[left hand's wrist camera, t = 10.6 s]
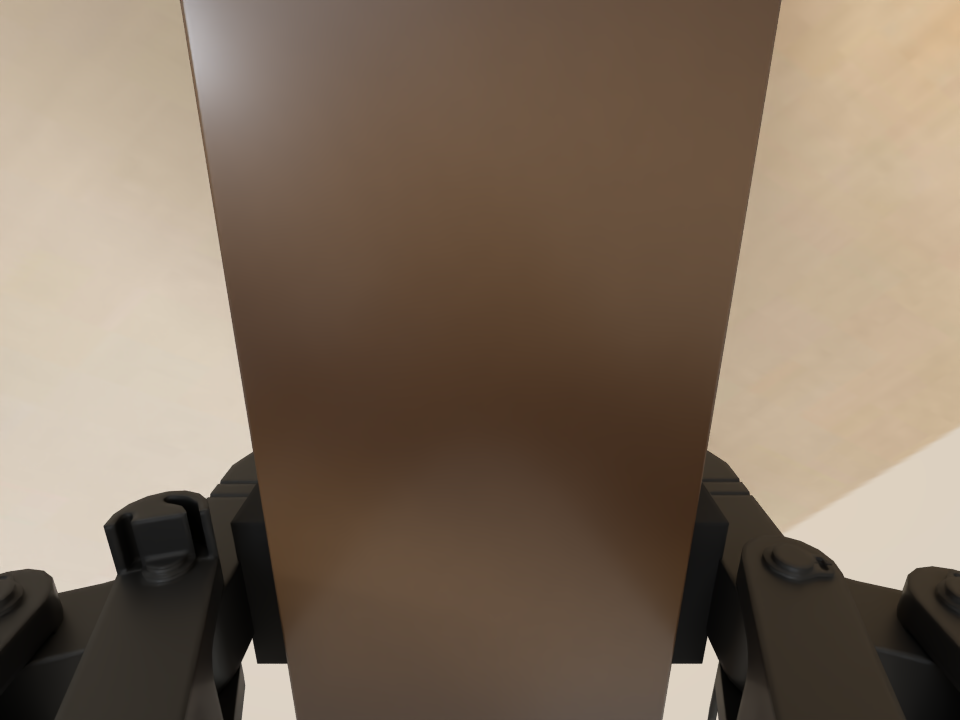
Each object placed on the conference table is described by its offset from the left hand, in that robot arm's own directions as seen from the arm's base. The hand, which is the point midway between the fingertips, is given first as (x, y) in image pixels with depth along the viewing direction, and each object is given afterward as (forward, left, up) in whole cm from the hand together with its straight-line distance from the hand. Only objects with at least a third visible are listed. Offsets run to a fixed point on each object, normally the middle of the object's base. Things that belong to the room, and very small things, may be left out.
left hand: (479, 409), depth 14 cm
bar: (+3, +32, -1) cm, 33 cm away
